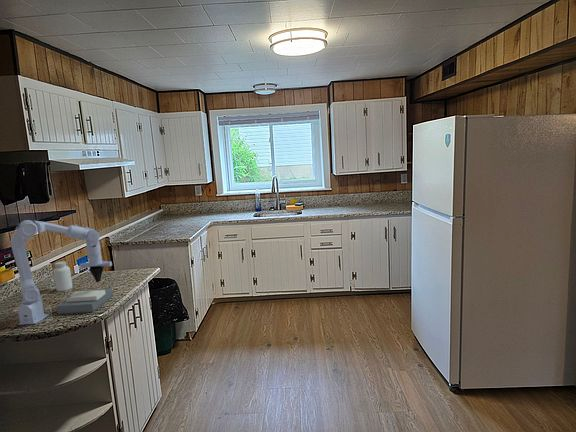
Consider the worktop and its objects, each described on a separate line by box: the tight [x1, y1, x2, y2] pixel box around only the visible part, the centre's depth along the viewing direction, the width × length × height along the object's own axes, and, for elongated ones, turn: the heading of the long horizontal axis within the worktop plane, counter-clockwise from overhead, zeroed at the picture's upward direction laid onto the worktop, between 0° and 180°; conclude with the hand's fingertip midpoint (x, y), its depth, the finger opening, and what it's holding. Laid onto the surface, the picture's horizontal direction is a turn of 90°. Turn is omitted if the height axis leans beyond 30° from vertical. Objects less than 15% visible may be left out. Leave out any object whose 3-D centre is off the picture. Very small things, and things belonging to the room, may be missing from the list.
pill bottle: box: [52, 261, 73, 292], centre depth 211 cm, size 8×8×15 cm
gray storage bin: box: [56, 288, 114, 315], centre depth 186 cm, size 20×16×4 cm
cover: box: [65, 290, 105, 302], centre depth 183 cm, size 8×14×2 cm, turn 88°
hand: (98, 281), depth 187 cm, fingers closed
